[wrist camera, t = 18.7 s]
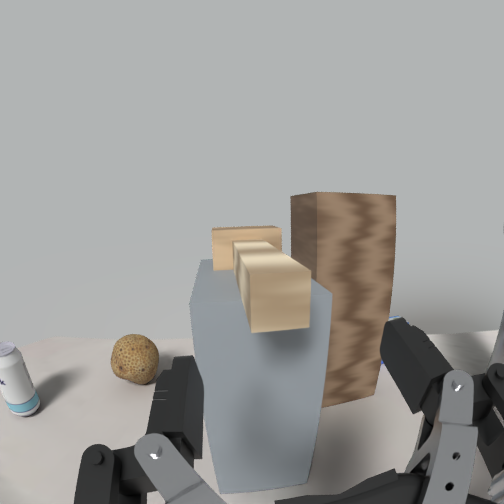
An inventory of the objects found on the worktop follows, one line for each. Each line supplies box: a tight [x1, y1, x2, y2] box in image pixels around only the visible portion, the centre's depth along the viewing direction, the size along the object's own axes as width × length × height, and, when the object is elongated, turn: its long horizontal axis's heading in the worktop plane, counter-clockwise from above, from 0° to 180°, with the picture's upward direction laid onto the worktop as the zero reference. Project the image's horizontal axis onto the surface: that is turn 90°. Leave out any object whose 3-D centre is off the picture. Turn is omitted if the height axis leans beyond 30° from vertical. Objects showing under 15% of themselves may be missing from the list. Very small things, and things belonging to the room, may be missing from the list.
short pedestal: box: [189, 259, 332, 494], centre depth 29 cm, size 10×16×24 cm, turn 7°
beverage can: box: [0, 342, 40, 416], centre depth 28 cm, size 7×7×12 cm
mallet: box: [212, 226, 311, 333], centre depth 23 cm, size 20×7×4 cm, turn 7°
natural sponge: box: [111, 334, 159, 384], centre depth 43 cm, size 9×9×10 cm
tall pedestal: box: [291, 192, 396, 408], centre depth 41 cm, size 12×12×32 cm
